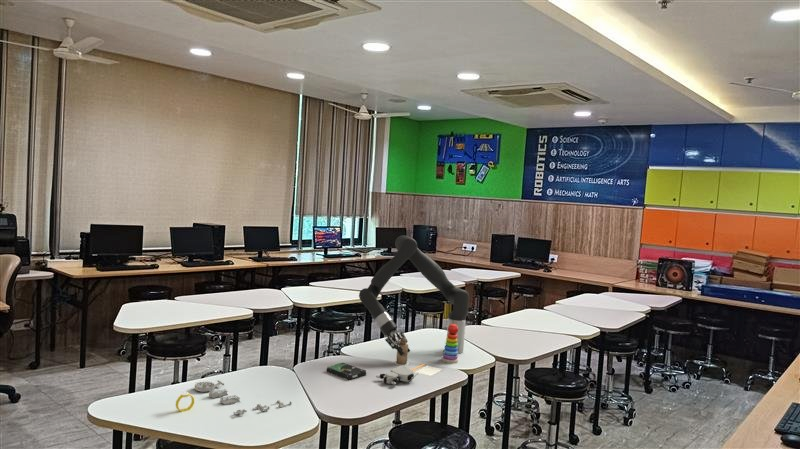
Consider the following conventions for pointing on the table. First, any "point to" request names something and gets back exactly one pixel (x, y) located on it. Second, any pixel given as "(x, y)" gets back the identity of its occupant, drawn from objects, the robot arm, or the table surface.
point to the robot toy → (397, 375)
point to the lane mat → (424, 369)
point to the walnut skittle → (403, 359)
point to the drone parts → (213, 394)
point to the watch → (182, 397)
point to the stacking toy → (451, 345)
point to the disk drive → (346, 371)
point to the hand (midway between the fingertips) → (405, 353)
